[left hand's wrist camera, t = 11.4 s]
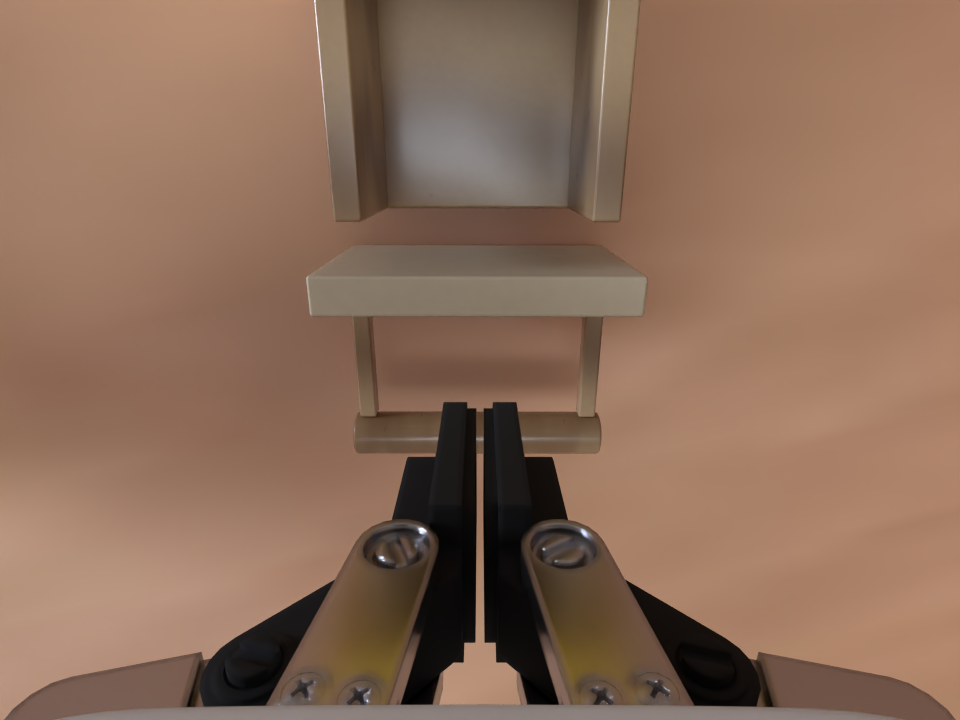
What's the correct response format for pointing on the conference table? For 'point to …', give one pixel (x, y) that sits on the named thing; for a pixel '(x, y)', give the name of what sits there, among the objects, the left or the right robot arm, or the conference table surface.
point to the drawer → (477, 178)
